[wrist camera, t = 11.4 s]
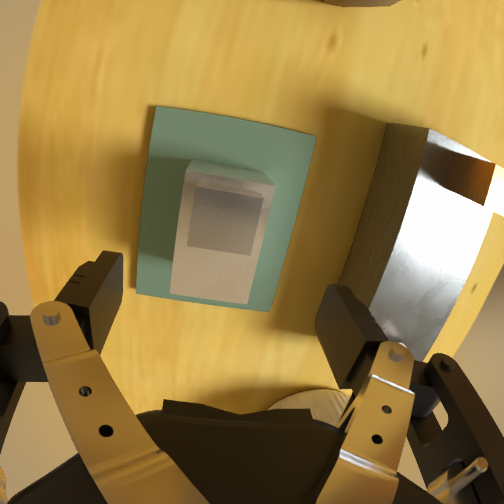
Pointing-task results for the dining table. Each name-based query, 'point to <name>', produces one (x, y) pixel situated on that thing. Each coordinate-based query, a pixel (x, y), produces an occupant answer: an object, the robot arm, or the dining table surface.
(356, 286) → the plane body
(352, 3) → the squeeze bottle
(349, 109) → the dining table surface
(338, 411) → the ramekin
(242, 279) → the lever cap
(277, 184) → the mat
